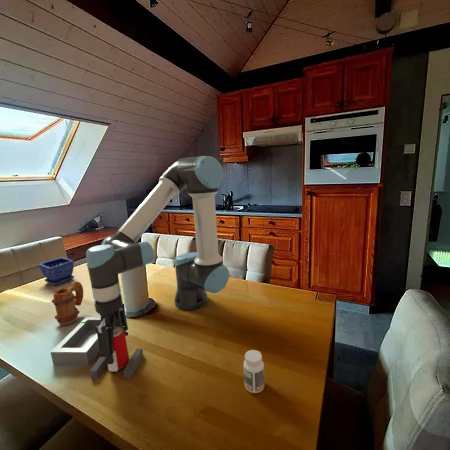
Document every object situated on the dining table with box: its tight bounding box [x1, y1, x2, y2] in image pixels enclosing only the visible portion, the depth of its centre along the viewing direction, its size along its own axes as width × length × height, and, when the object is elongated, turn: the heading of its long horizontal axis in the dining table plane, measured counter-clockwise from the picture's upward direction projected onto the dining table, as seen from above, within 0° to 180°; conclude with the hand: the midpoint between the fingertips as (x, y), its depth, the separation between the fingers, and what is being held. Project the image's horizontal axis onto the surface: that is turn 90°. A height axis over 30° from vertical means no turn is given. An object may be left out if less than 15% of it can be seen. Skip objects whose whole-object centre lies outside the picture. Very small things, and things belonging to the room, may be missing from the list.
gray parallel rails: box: [89, 347, 144, 379], centre depth 84 cm, size 12×10×2 cm
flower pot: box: [39, 257, 75, 287], centre depth 151 cm, size 13×13×12 cm
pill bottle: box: [242, 349, 265, 394], centre depth 73 cm, size 6×6×10 cm
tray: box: [50, 316, 112, 367], centre depth 94 cm, size 12×20×5 cm, turn 176°
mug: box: [50, 281, 84, 326], centre depth 111 cm, size 15×8×15 cm, turn 168°
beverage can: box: [114, 327, 130, 371], centre depth 83 cm, size 6×6×12 cm
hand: (118, 361), depth 84 cm, fingers closed on beverage can, 6 cm apart
